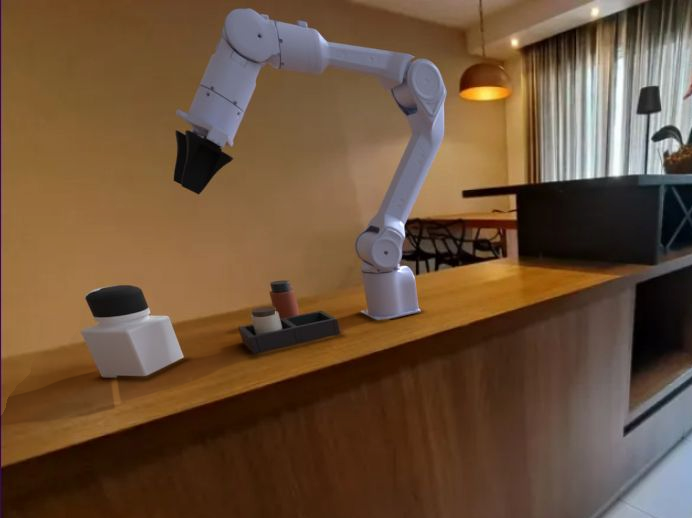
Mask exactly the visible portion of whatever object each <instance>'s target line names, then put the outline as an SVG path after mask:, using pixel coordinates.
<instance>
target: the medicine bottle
mask: <svg viewBox="0 0 692 518" xmlns="http://www.w3.org/2000/svg"><path fill="white" fill-rule="evenodd" d="M84 299H85V302H86V304H87V306H88V308H89V310H90V312H91V315H92V317H93V319H94V321H95V322H96V323H98V324H95V325H92V326H88V327H85V328H83V329H81V330H80V334H81V336H82V338H83V340H84V342H85V344H86V347H87V349H88V351H89V353H90V355H91V357H92V359H93V362H94V363H95V366H96V368H97V370H98V372H99V374H100V376H101V377H102V378H106V379H118V376H121V377H122V376H124V377H125V376H126V377H128V376H129V377H145V376H146V377H147V376H149V375H151V374H153V373H155V372H157V371H159V370H162V369H163V368H165V367H167V366H170V365H172V364H173V363H175V362H177V361H179V360H181V359H184V358H185V356H184V353H183V351H182V349H181V346H180V343H179V340H178V337H177V335H176V333H175V330H174V327H173V324H172V322H171V319H170V317H169V316H168V315H149V314H151V310H150V308H149V305H148V302H147V300H146V297H145V295H144V292H143V290H142V288H140V287H139V286H135V285H131V284H119V285H110V286H104V287H99V288H94V289H92V290H91V291H88V293H86V294H85V296H84Z"/></svg>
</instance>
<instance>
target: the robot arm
mask: <svg viewBox="0 0 692 518" xmlns="http://www.w3.org/2000/svg"><path fill="white" fill-rule="evenodd" d="M415 58H416V56H414V55H412V54H409V53H405V52H397V51H391V50H385V49H378V48H373V47H372V48H371V47H365V46H360V45H359V46H358V45H351V44H344V43H337V42H331V41H330V42H329V41H328V40H326V39H325V38H324V37H323V36H322V35H321V33H320V32H319V31H318V30H317V29H315V28H311V27H308V22H306V21H303V20H297V21H296V23H295V24H294V23H293V24H292V23H288V22H283V21H278V20H273V19H270V18H269V15H268V14H263V13H258V12H257V11H256V10H254V9H252V8H249V7H248V8H236V9H232V10H231V11H230V12H229V13H228V14H227V16H226V17H225V20H224V23H223V28H222V30H221V38H220V41H218V42H217V44H216V46H215V53H213V54H211V56H210V59H209V61H208V64H207V66H206V68H205V71H204V73H203V75H202V78H201V80H200V83H199V86H198V88H197V91H196V92H195V95H194V98H193V100H192V103H191V105H190V108H189V109H188V112H187V113H186V112H184V111H182V110H180V109H176V111H175V113H174V114H175V115H176V116H178V117H179V118H180V119H182V120H183V121H184V122H185V123H187V125H188V126H190V127H191V129H190V130H188V129H186V130H185V132H184V133H183V132H181V131H179V130H175V132H174V133H175V139H176V158H175V159H176V160H175V165H174V171H173V182H175V183H178V184H180V185H181V187H182V188H184V189H186V190H189V191H190V192H193V193H195V194H197V195H200V194H201V193H202V192H203V191H204V190H205V188H207V186H208V184H209V183H210V182H211V181H212V179H213V178H214V177H215V175H216V174H217V173H218V172H219V171H220V170H221V169H222V168H223V167H225V166H226V165H227V164H229V163H231V162H232V161H233V160H234V157H232V156H231V155H229V154H227V153H226V152H224V151H222V150H223V149H224V148H225V146H226V147H229V148H232V147H233V145H234V139H235V136H236V134H237V132H238V130H239V127H240V124H241V123H242V120H243V117H244V115H245V112H246V110H247V109H248V106H249V104H250V101H251V98H252V97H253V94H254V91H255V90H256V87H257V83H256V82H257V81H256V80H257V78H258V76H259V73H260V71H261V68H264V66H266V64H267V65H269V66H271V67H272V68H274V69H277V70H283V71H289V72H296V73H302V74H307V75H315V76H320V75H322V74H323V73H324V71H325V70H326V69H327V68H330V69H333V70H339V71H344V72H348V73H353V74H356V75H361V76H365V77H370V78H374V79H376V81H377V82H378V83H379V85H380V86H381V87H382V89H383V91H385V92H388V91H390V94H391V97H392V98H393V100H394V103H395V105H396V106H397V107H398V109H399V110H400V111H401V113H402V114H403V116H404V117H405V119H406V120H407V123H408V126H409V128H410V131H411V136H410V138H409V140H408V142H407V145H406V147H405V149H404V152H403V154H402V156H401V157H400V160H399V163H398V165H397V168H396V170H395V172H394V175H393V176H392V179H391V181H390V183H389V185H388V188H387V190H386V192H385V195H384V197H383V199H382V201H381V204H380V206H379V209H378V211H377V213H376V214H375V215H374V216H373V217H372V218H371V219H370V220H369V222H368V224H367V226H366V228H365V229H364V230H362V231H361V232H360V233H359V234H358V235H357V237H356V238H355V240H354V251H355V254H356V255H357V257H358V258H359V259H360V261H362V264H361V267H360V270H361V272H360V273H361V279H362V285H363V289H364V296H365V301H366V308H367V309H364V310H361V311H359V312H360V313H361V314H364V315H366V316H368V317H370V318H372V319H373V320H377V321H380V320H384V319H387V320H392V319H396V318H400V317H404V316H408V315H412V314H418V313H421V308H419V302H418V301H419V299H418V291H417V283H416V278H415V275H414V272H413V270H412V269H411V268H410V267H409V266H407V265H401V264H400V263H401V260H402V257H403V244H404V241H405V239H406V231H405V225H406V223H407V221H408V218H409V216H410V214H411V211H412V210H413V207H414V205H415V203H416V200H417V198H418V196H419V194H420V192H421V189H422V187H423V185H424V182H425V180H426V178H427V176H428V174H429V172H430V170H431V167H432V164H433V162H434V160H435V158H436V155H437V153H438V151H439V149H440V147H441V145H442V143H443V140H444V137H445V101H446V97H447V93H448V91H447V89H446V85H445V83H444V80H443V77H442V76H443V75H442V74H441V71H440V70H439V68H438V67H437V66H436V65H435V63H433V62H432V61H430V60H429V59H427V58H417V59H415ZM413 59H415V60H414V61H412V60H413ZM411 61H412V62H411ZM222 148H223V149H222Z"/></svg>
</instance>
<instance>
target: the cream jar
mask: <svg viewBox="0 0 692 518" xmlns="http://www.w3.org/2000/svg"><path fill="white" fill-rule="evenodd" d="M250 320H251V323H252V324H253V326H254V330H255V333H256V335H259V334H263V333H268V332H273V331H277V330H282V329H283V328H282V324H281V320H280V317H279V313H278V312H277V311H276V309H275V307H273V305H272V306H270V305H269V306H259V307H256V308H252V309H251V314H250Z"/></svg>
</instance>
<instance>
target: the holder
mask: <svg viewBox="0 0 692 518" xmlns="http://www.w3.org/2000/svg"><path fill="white" fill-rule="evenodd" d="M280 320H281V324H282V328H283V329H282V330H277V331H273V332H268V333H263V334H259V335H256V333H255V330H254V326H253V323H252V324H249V325H248V324H247V325H242V326H238V331H239V335H240V339H241V341H242V343H243V344H244V345H245V346H246V347H247V349H248V350H250V351H251V352H252V354H254V355H256V354H260V353H264V352H269V351H272V350H276V349H281V348H285V347H290V346H294V345H298V344H302V343H306V342H310V341H315V340H319V339H323V338H327V337H332V336H335V335H340V334H341V331H340V325H339V320H338V318H337V317H335V316H333V315H331V314H329V313H328V312H325V311H323V310H317V311H313V312H307V313H301V314H300V315H297V316H292V317H287V318H282V319H280Z"/></svg>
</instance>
